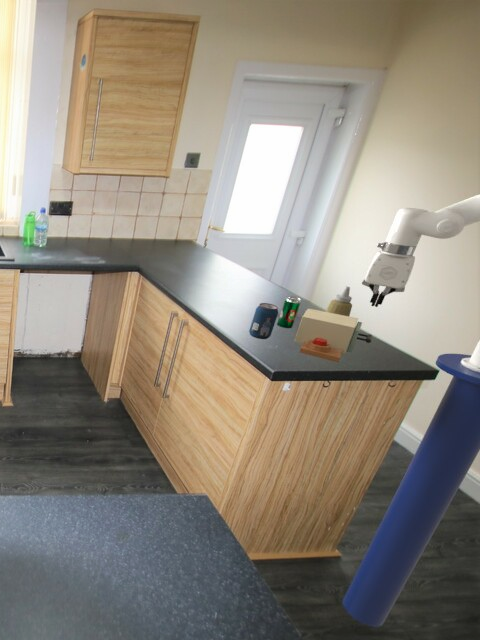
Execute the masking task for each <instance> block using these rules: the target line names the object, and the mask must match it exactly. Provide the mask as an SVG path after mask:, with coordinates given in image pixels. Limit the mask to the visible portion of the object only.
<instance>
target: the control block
mask: <svg viewBox="0 0 480 640" xmlns="http://www.w3.org/2000/svg"><path fill="white" fill-rule="evenodd" d="M313 342H314V340H309V341H308V342H305V341H304V343H303V344H302V345H301V346H300V348H299V351H298V353H300V354H303V355H308V356H312V357H317V358H320V359H324V360H327V361H332V362H336V363H339V362H340V359H341V357H342V355H343V354H342V350H338V349H334V348H331V346H332V345H330V344H329V343H327V344H326V346H320V345H316V344H314V343H313Z"/></svg>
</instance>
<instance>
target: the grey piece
mask: <svg viewBox="0 0 480 640" xmlns="http://www.w3.org/2000/svg"><path fill="white" fill-rule="evenodd" d="M362 325H363V321H357V323H356V326H355V329H354V332H353V334H352V337H351V339H350V342H349V345H348V347H347V350H346V353H352V351H353V349H354V346H355V344H356V342H357V340H360V341H363V342H366V343H367V344H370V343H371V342H372V339H373V334H371V333H370V334H366V333H365V334H364V333H361V332H360V331H361V328H362ZM359 336H361V337H359Z"/></svg>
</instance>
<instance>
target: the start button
mask: <svg viewBox="0 0 480 640" xmlns="http://www.w3.org/2000/svg"><path fill="white" fill-rule="evenodd" d="M313 343H314V344H316V345H320V346H326V344H327V340H325V339H322V338H315V339H314V342H313Z"/></svg>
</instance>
